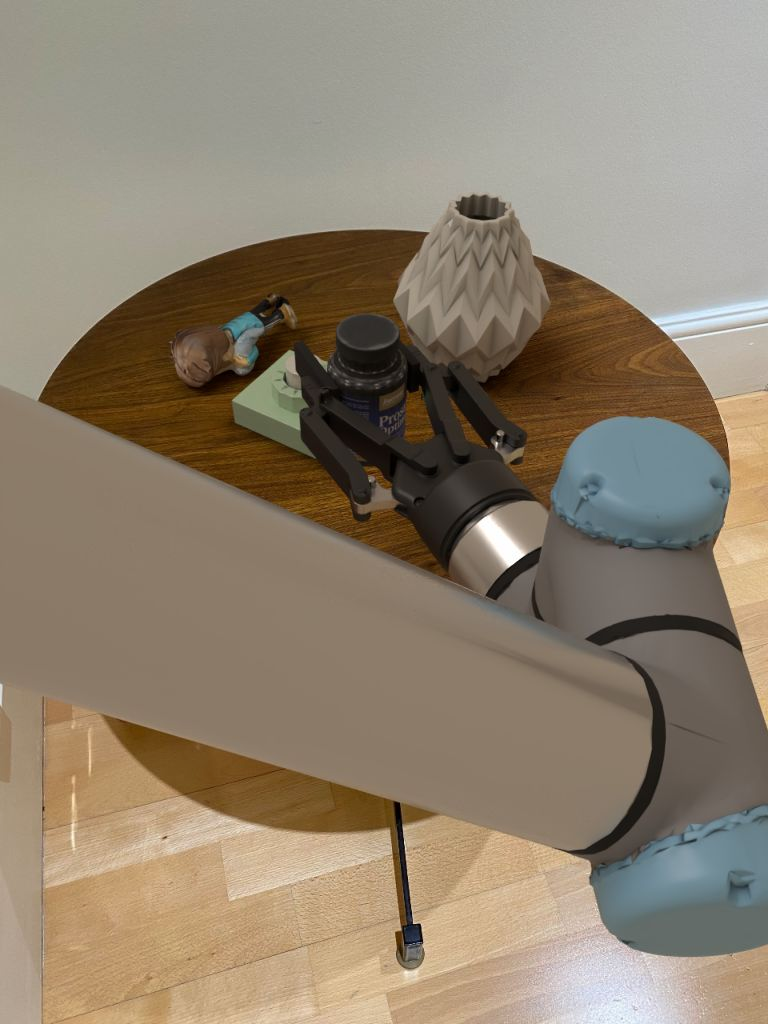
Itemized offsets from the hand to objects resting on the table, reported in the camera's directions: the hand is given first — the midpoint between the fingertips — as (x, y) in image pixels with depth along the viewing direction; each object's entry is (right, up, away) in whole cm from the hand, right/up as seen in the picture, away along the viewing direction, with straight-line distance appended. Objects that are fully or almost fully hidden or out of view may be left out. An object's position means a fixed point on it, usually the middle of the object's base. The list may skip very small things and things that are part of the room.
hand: (338, 344), depth 70 cm
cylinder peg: (-4, 0, +18) cm, 19 cm away
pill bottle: (+2, -8, +2) cm, 8 cm away
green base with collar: (-4, -3, +21) cm, 22 cm away
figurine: (-12, +4, +28) cm, 31 cm away
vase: (+12, +3, +28) cm, 31 cm away
